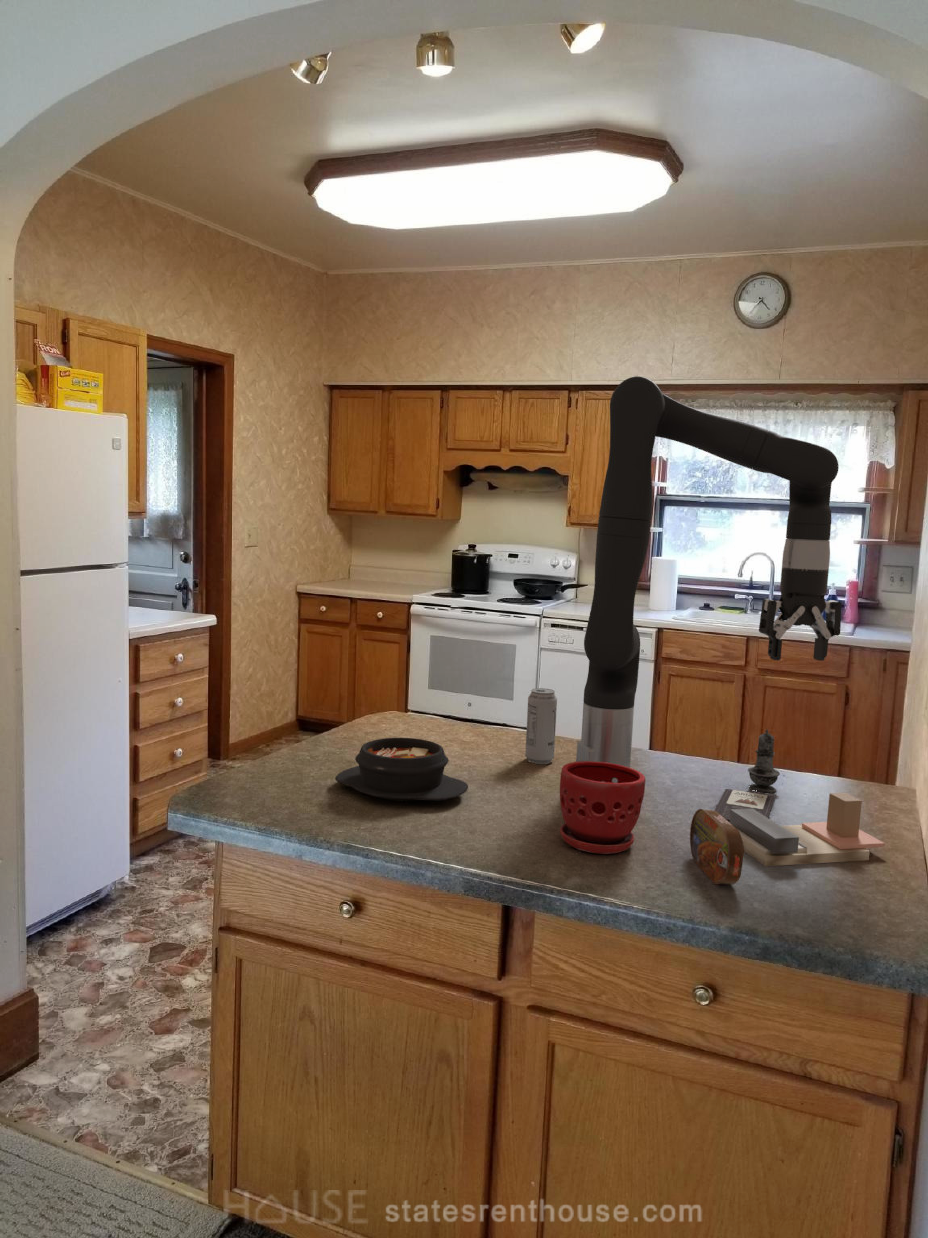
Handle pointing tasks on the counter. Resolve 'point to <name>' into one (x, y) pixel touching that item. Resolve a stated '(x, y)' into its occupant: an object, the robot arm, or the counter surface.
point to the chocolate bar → (744, 802)
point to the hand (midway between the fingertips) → (797, 659)
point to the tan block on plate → (843, 824)
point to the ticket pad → (813, 851)
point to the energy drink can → (541, 726)
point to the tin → (716, 847)
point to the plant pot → (600, 805)
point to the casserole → (402, 771)
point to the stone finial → (764, 766)
